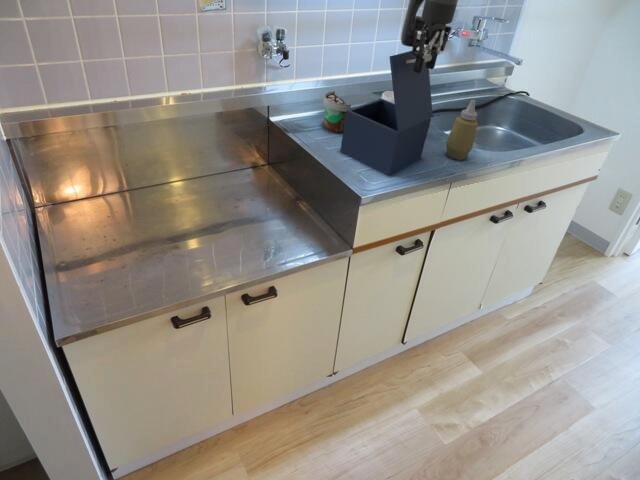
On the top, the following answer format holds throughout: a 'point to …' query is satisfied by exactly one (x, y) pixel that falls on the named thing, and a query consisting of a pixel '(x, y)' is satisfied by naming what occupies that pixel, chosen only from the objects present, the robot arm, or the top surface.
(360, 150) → the dish tub
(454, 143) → the squeeze bottle
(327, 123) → the food container
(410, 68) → the tub lid
